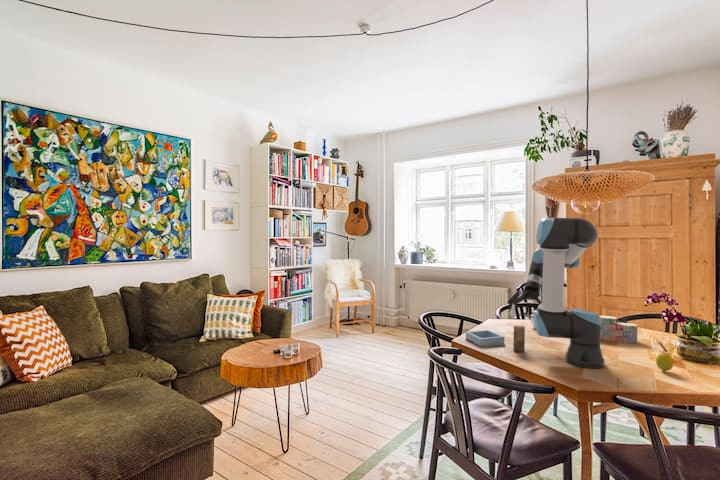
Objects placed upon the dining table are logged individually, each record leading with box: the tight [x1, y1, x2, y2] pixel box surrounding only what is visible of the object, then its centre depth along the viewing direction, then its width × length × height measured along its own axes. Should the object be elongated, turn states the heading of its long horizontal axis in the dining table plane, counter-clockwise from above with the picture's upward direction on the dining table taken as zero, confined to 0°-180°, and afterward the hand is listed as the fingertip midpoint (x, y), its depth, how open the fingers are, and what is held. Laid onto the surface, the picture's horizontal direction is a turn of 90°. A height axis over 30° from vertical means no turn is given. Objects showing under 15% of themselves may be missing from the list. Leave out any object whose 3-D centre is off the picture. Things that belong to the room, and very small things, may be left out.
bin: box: [465, 329, 505, 347], centre depth 202 cm, size 14×14×4 cm
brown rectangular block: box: [512, 324, 526, 354], centre depth 187 cm, size 5×5×12 cm
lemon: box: [655, 352, 674, 372], centre depth 160 cm, size 6×6×8 cm
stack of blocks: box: [599, 315, 638, 344], centre depth 207 cm, size 21×6×12 cm, turn 64°
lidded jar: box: [529, 313, 536, 330], centre depth 231 cm, size 11×11×9 cm
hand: (524, 317), depth 195 cm, fingers open, 13 cm apart
